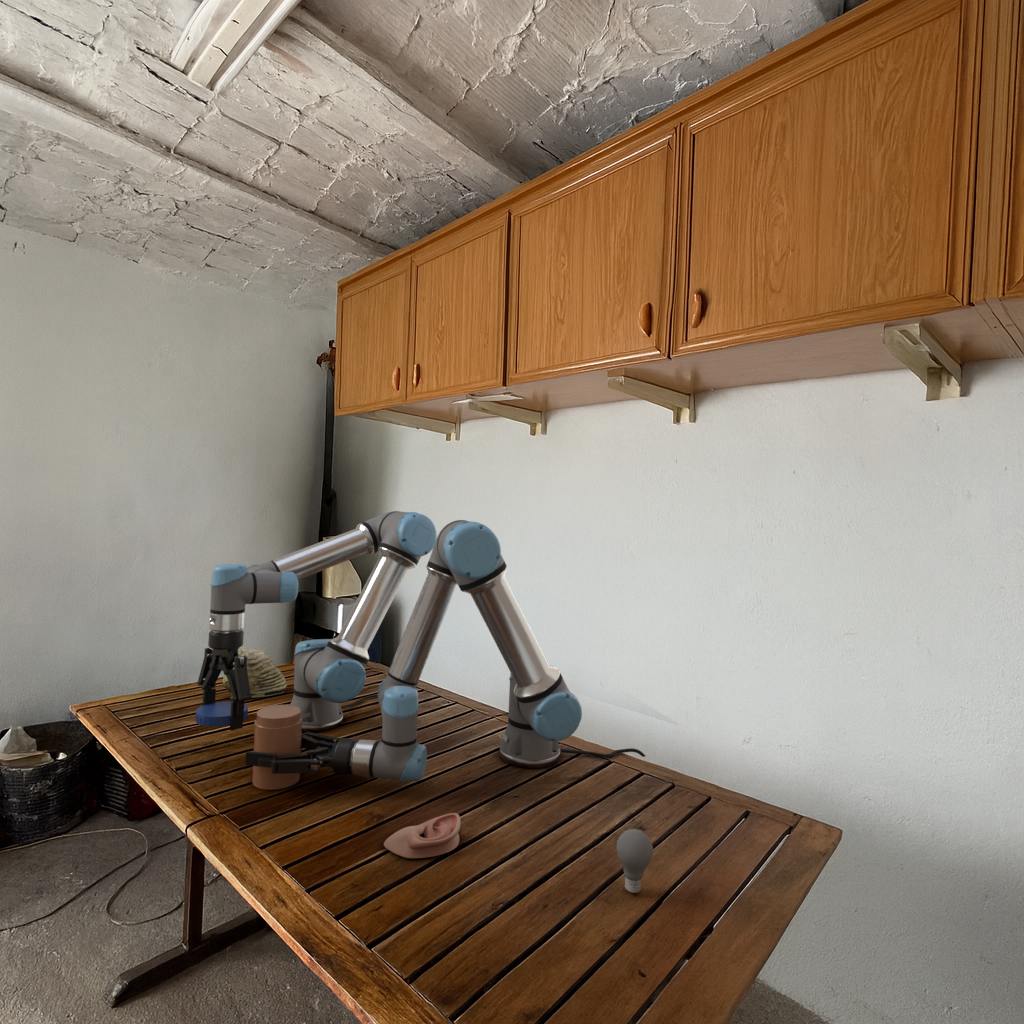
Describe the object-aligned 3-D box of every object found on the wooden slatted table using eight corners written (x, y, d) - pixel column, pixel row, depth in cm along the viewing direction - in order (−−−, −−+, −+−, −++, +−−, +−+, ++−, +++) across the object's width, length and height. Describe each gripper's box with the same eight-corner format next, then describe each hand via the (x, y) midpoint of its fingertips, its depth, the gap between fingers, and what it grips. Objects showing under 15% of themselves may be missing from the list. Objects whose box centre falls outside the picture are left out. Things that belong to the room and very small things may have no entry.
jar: (289, 791, 136) (292, 720, 135) (244, 788, 136) (246, 717, 136) (306, 771, 146) (309, 705, 145) (263, 768, 146) (266, 702, 146)
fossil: (218, 695, 195) (220, 647, 195) (278, 685, 208) (279, 640, 207) (228, 703, 189) (230, 653, 188) (289, 692, 201) (290, 645, 201)
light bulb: (610, 879, 108) (613, 822, 108) (644, 879, 109) (647, 822, 109) (619, 902, 102) (622, 840, 102) (655, 901, 103) (658, 840, 103)
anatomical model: (377, 831, 113) (401, 802, 124) (376, 853, 113) (400, 822, 124) (448, 842, 110) (466, 811, 122) (447, 865, 111) (465, 832, 122)
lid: (246, 708, 157) (246, 699, 157) (249, 723, 147) (249, 714, 147) (195, 713, 152) (195, 703, 152) (195, 729, 142) (195, 719, 142)
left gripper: (184, 624, 153) (180, 714, 153) (240, 640, 139) (235, 739, 139) (214, 620, 159) (210, 707, 159) (270, 636, 145) (265, 730, 146)
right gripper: (334, 798, 128) (230, 787, 130) (371, 754, 150) (282, 745, 152) (336, 761, 127) (231, 751, 130) (373, 722, 150) (283, 714, 152)
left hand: (221, 722), depth 149 cm, fingers closed on lid, 11 cm apart
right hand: (259, 748), depth 141 cm, fingers closed on jar, 10 cm apart
